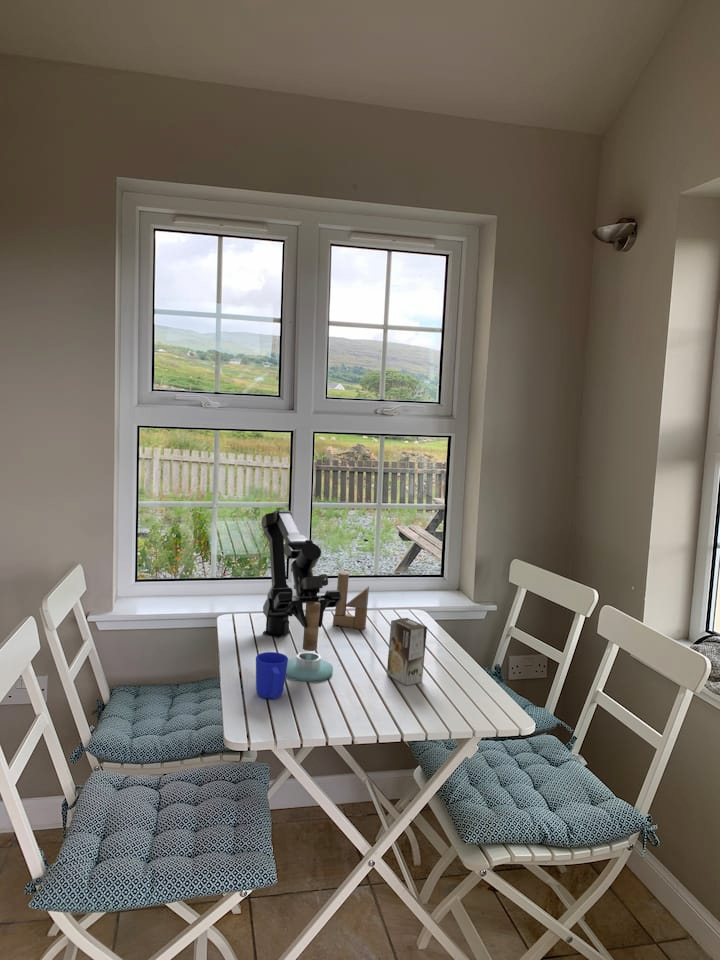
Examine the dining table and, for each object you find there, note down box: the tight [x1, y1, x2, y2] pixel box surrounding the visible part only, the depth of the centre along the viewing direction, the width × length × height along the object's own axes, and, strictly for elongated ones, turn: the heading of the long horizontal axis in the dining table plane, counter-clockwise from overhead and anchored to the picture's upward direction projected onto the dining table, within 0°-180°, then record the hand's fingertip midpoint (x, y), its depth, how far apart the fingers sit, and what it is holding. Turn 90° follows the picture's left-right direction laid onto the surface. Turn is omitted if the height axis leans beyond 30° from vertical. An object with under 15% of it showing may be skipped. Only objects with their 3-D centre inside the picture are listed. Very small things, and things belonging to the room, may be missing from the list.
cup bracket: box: [285, 651, 334, 683], centre depth 210 cm, size 14×14×4 cm
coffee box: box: [386, 617, 428, 686], centre depth 210 cm, size 9×6×16 cm
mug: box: [255, 651, 289, 700], centre depth 190 cm, size 8×12×10 cm
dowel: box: [302, 601, 320, 652], centre depth 208 cm, size 4×4×13 cm
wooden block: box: [332, 571, 370, 630], centre depth 251 cm, size 4×11×18 cm, turn 79°
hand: (313, 627), depth 207 cm, fingers closed on dowel, 4 cm apart
